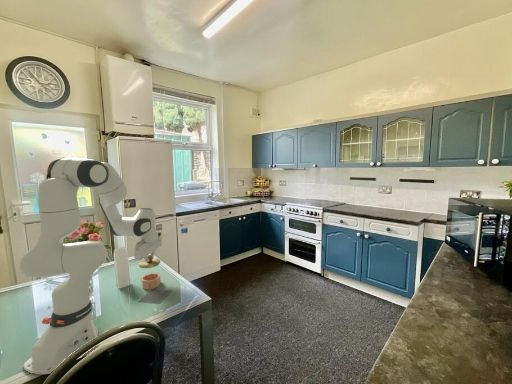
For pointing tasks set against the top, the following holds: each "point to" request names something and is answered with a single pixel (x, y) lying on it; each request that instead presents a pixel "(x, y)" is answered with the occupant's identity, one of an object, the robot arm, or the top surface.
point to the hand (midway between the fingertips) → (149, 260)
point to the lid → (149, 263)
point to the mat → (155, 296)
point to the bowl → (150, 281)
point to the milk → (121, 267)
